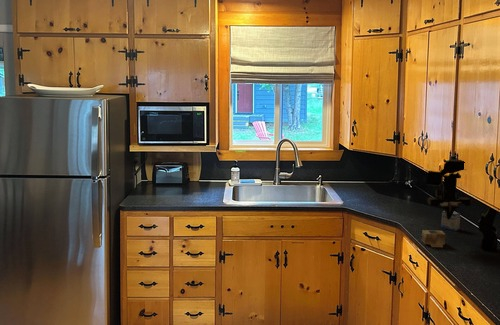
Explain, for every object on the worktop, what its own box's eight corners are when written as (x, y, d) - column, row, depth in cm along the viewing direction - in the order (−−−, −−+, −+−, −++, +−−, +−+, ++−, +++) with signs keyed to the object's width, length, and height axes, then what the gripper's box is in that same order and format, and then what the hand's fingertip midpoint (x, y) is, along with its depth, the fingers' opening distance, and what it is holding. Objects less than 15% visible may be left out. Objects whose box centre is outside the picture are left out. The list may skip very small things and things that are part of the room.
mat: (437, 240, 268) (437, 239, 268) (443, 247, 259) (443, 246, 259) (426, 240, 269) (426, 239, 269) (431, 246, 259) (432, 245, 259)
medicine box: (440, 227, 291) (441, 211, 289) (444, 226, 294) (446, 210, 292) (455, 231, 285) (456, 214, 284) (459, 229, 288) (460, 212, 287)
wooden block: (441, 230, 265) (422, 229, 266) (445, 233, 260) (425, 233, 260) (440, 240, 266) (421, 240, 267) (444, 244, 260) (425, 244, 261)
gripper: (464, 183, 269) (462, 215, 272) (424, 183, 270) (423, 215, 272) (472, 188, 258) (470, 221, 261) (431, 188, 259) (430, 221, 261)
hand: (448, 219), depth 264 cm, fingers closed
